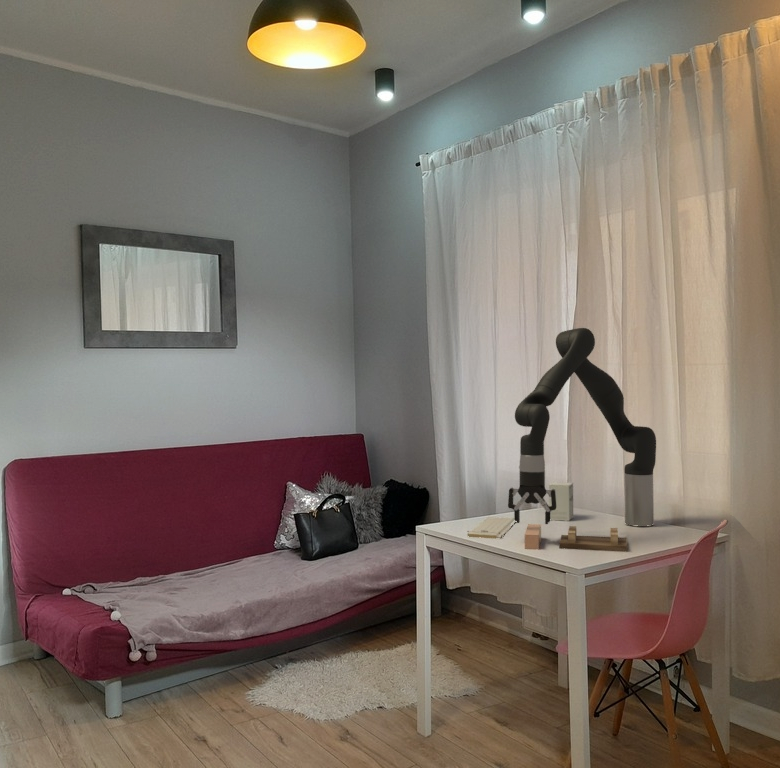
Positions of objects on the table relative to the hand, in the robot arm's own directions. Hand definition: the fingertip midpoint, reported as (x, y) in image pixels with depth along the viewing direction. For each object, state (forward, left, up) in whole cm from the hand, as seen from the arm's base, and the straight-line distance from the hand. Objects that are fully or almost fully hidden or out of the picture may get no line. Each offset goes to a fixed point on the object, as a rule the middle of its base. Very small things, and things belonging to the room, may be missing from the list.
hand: (532, 523), depth 226 cm
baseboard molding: (-20, -14, -7) cm, 25 cm away
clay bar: (0, 0, -6) cm, 6 cm away
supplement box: (-42, +6, -6) cm, 43 cm away
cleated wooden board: (-1, +18, -6) cm, 19 cm away
